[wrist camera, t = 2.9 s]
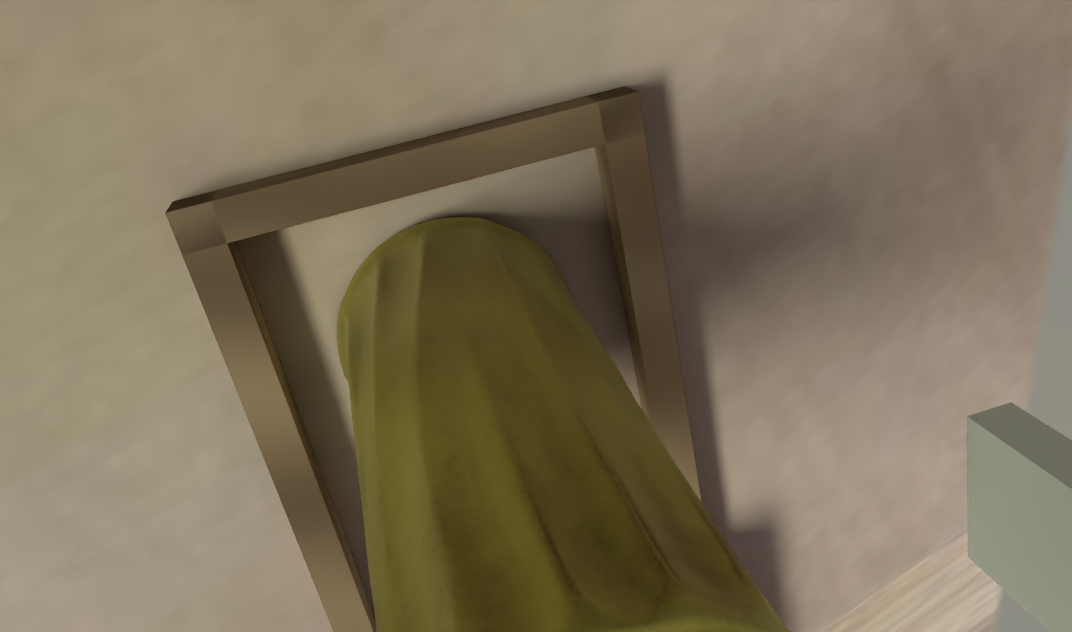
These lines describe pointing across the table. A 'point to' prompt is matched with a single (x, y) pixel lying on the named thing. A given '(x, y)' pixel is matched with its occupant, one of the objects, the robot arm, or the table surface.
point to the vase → (515, 455)
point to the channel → (393, 174)
